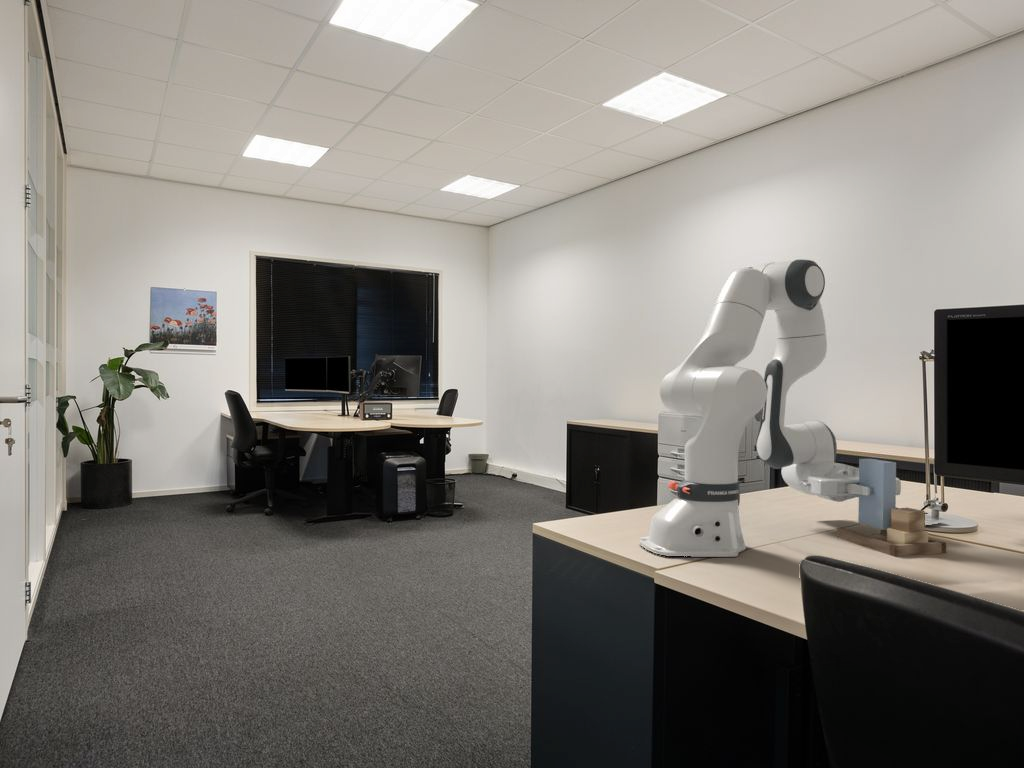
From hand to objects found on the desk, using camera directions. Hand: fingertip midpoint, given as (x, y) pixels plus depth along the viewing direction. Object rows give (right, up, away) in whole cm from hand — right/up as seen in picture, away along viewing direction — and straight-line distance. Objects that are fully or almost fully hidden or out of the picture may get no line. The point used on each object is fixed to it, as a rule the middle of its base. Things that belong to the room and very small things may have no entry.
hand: (880, 491), depth 136 cm
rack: (+1, -12, -2) cm, 12 cm away
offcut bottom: (+2, -11, -6) cm, 13 cm away
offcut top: (+2, -7, -6) cm, 9 cm away
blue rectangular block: (0, -8, +1) cm, 8 cm away
